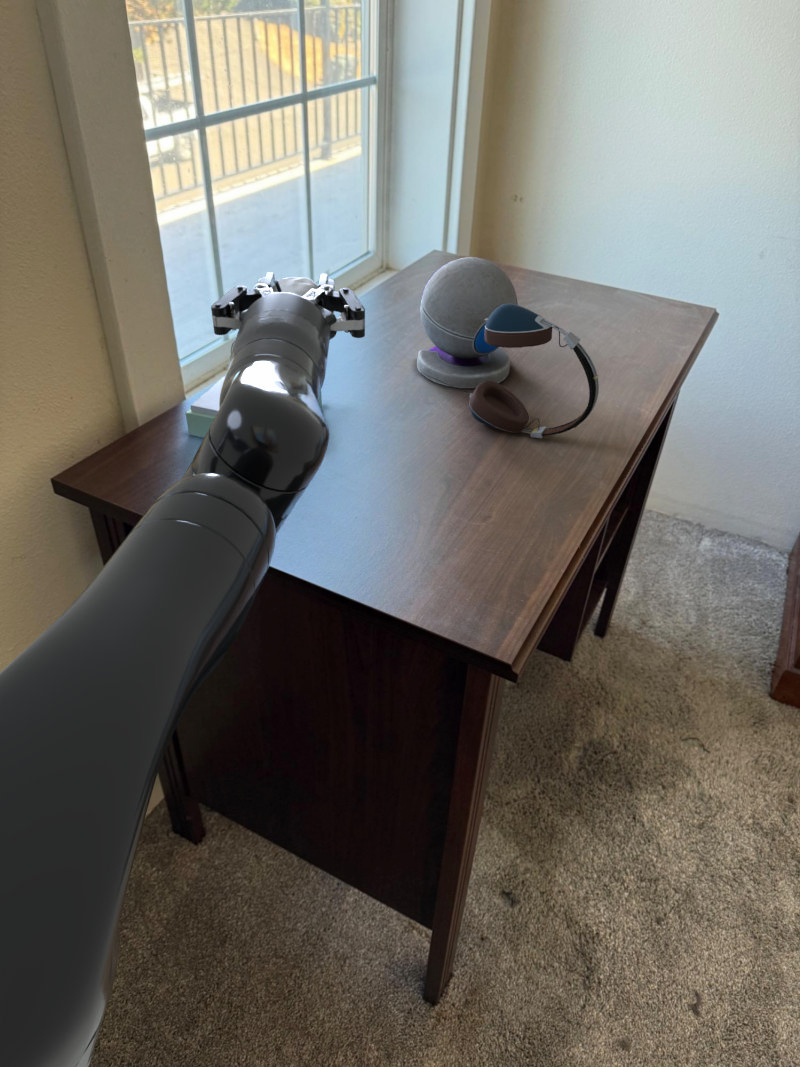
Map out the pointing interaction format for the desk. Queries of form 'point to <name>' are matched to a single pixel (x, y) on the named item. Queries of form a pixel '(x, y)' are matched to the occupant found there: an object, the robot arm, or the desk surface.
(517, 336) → the headphones
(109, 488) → the desk surface
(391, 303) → the desk surface
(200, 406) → the scale
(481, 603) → the desk surface
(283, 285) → the milkshake
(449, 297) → the webcam
